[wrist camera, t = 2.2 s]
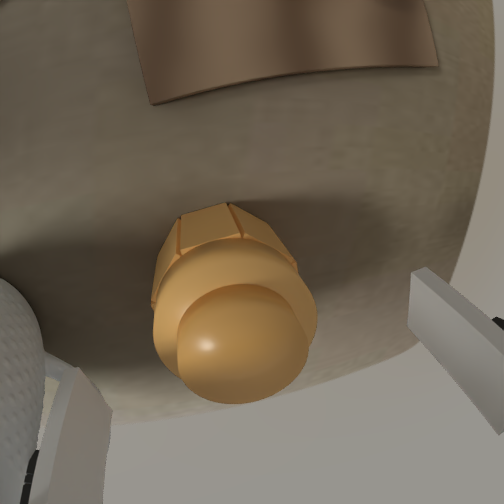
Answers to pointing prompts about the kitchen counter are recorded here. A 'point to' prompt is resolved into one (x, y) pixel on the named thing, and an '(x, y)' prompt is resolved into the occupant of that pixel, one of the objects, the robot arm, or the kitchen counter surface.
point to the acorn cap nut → (230, 307)
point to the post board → (271, 40)
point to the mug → (21, 388)
